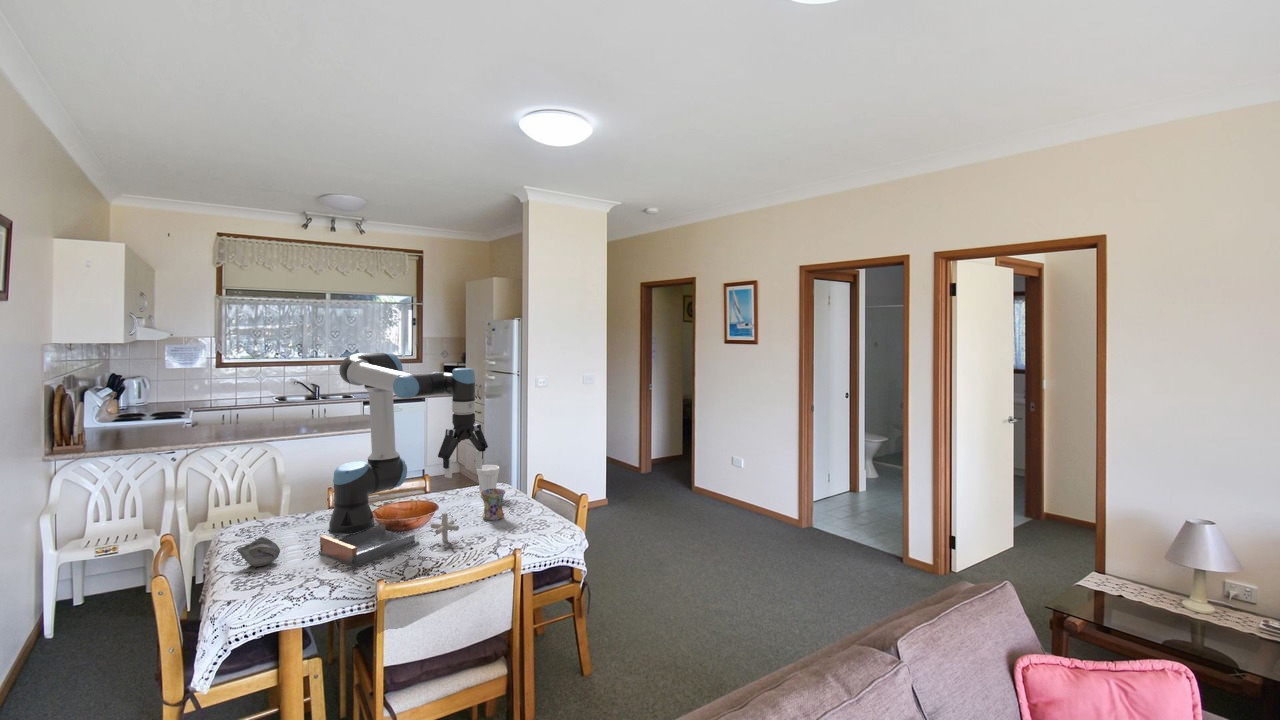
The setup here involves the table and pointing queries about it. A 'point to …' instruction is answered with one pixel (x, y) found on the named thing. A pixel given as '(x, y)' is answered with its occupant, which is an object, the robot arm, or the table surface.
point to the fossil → (260, 552)
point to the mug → (493, 503)
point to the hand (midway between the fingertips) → (463, 473)
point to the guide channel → (365, 545)
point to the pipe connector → (444, 527)
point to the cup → (488, 477)
